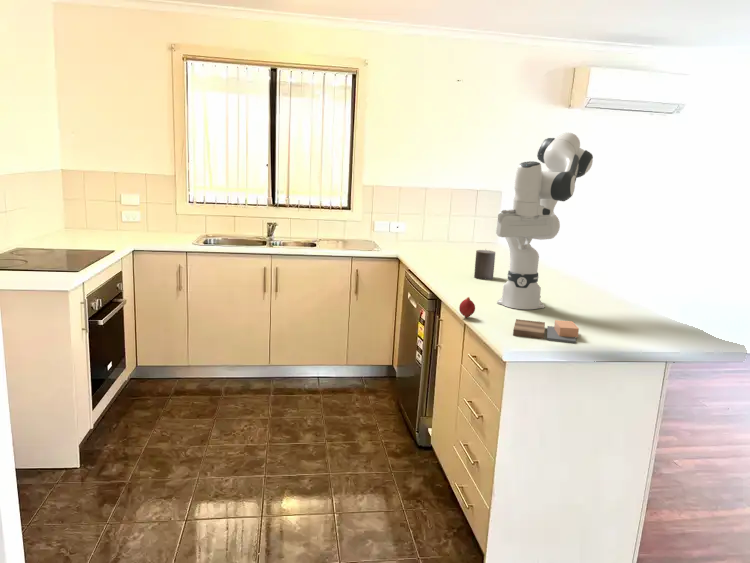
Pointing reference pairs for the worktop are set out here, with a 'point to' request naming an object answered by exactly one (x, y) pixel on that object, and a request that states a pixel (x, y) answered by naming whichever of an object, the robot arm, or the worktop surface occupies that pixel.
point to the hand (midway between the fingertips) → (523, 249)
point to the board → (529, 329)
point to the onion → (467, 307)
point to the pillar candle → (484, 264)
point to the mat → (554, 336)
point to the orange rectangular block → (566, 328)
